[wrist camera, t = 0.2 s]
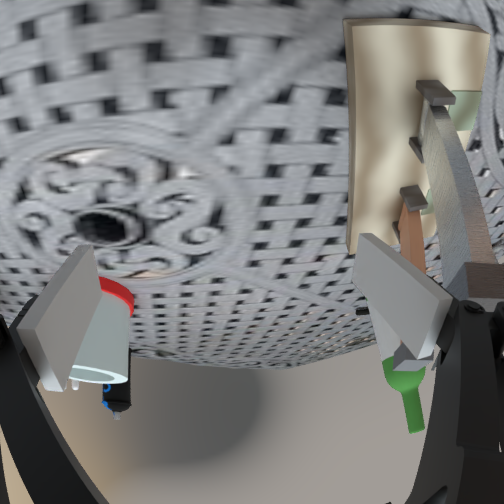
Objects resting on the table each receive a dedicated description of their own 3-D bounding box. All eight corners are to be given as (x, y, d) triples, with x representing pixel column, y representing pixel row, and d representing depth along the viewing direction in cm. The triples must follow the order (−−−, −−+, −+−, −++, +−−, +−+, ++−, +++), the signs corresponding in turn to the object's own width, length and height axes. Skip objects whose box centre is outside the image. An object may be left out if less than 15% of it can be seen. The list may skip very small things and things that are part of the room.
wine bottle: (354, 289, 59) (387, 439, 43) (377, 269, 53) (417, 434, 37) (383, 289, 61) (416, 428, 45) (406, 270, 55) (446, 421, 39)
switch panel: (345, 243, 45) (354, 272, 42) (342, 19, 18) (368, 38, 15) (428, 225, 43) (440, 252, 40) (477, 26, 16) (511, 49, 14)
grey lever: (411, 137, 26) (435, 332, 17) (417, 89, 21) (468, 297, 12) (437, 140, 25) (471, 333, 16) (446, 93, 21) (511, 299, 11)
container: (58, 306, 54) (50, 376, 46) (44, 267, 42) (28, 356, 34) (132, 316, 60) (130, 387, 52) (137, 280, 48) (133, 370, 40)
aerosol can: (133, 346, 77) (133, 419, 66) (130, 354, 83) (130, 420, 72) (103, 342, 73) (101, 416, 62) (103, 350, 79) (101, 418, 68)
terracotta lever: (394, 221, 38) (392, 370, 29) (400, 193, 33) (405, 359, 24) (414, 223, 37) (416, 371, 28) (422, 195, 32) (433, 360, 23)
